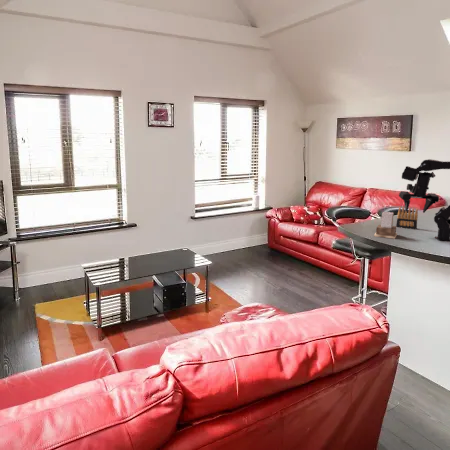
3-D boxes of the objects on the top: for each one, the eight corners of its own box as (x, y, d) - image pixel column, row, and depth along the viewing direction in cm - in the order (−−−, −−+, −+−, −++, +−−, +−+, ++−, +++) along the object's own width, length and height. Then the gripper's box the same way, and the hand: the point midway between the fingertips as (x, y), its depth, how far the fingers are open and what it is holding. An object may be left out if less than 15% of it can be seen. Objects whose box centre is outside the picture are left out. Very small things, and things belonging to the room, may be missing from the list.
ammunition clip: (396, 227, 244) (398, 206, 241) (396, 226, 245) (398, 205, 243) (416, 229, 239) (418, 207, 236) (416, 228, 241) (418, 207, 238)
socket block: (397, 234, 225) (398, 226, 224) (394, 238, 217) (395, 230, 216) (377, 232, 230) (378, 224, 229) (374, 236, 221) (374, 227, 220)
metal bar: (391, 233, 224) (393, 212, 222) (390, 235, 220) (392, 214, 217) (381, 232, 226) (383, 211, 224) (380, 234, 222) (382, 213, 220)
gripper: (433, 179, 226) (426, 207, 232) (398, 177, 226) (392, 204, 232) (443, 187, 216) (434, 215, 222) (406, 184, 216) (399, 212, 222)
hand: (414, 211), depth 225 cm, fingers open, 9 cm apart
